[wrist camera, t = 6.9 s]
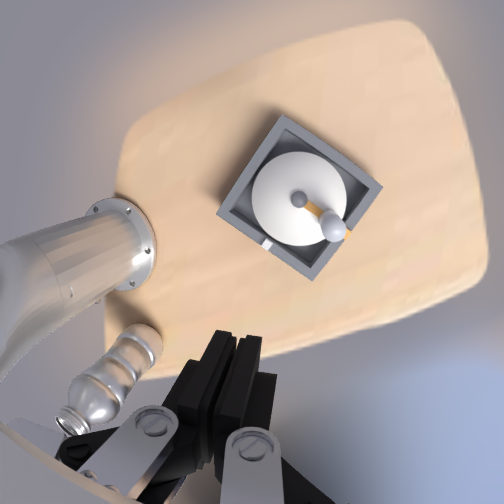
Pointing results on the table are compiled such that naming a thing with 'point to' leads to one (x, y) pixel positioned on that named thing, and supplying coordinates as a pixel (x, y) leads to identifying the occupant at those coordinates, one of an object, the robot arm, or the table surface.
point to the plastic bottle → (109, 380)
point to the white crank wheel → (300, 199)
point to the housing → (275, 144)
